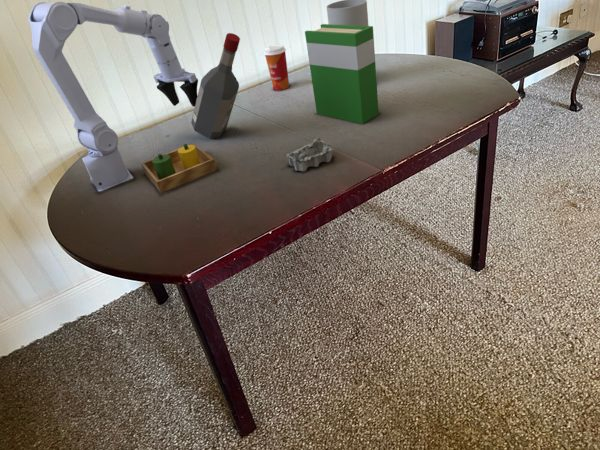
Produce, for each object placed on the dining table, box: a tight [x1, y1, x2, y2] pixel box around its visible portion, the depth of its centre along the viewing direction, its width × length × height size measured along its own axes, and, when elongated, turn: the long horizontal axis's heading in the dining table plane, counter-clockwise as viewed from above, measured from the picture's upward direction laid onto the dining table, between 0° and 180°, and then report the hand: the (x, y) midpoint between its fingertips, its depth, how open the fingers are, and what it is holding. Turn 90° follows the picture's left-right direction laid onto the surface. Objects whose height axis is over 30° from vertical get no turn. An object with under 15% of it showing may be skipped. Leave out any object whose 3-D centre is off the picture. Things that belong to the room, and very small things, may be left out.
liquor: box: [190, 32, 241, 139], centre depth 129 cm, size 9×9×30 cm
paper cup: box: [263, 44, 290, 92], centre depth 162 cm, size 8×8×14 cm
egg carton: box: [285, 137, 334, 173], centre depth 115 cm, size 11×8×4 cm
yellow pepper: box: [178, 143, 201, 170], centre depth 122 cm, size 5×5×6 cm
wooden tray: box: [140, 142, 218, 194], centre depth 122 cm, size 15×14×4 cm
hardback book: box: [304, 23, 380, 125], centre depth 131 cm, size 18×7×24 cm, turn 45°
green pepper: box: [152, 153, 176, 180], centre depth 119 cm, size 5×5×6 cm
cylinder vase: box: [326, 0, 369, 26], centre depth 152 cm, size 12×12×25 cm
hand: (185, 104), depth 136 cm, fingers open, 7 cm apart
